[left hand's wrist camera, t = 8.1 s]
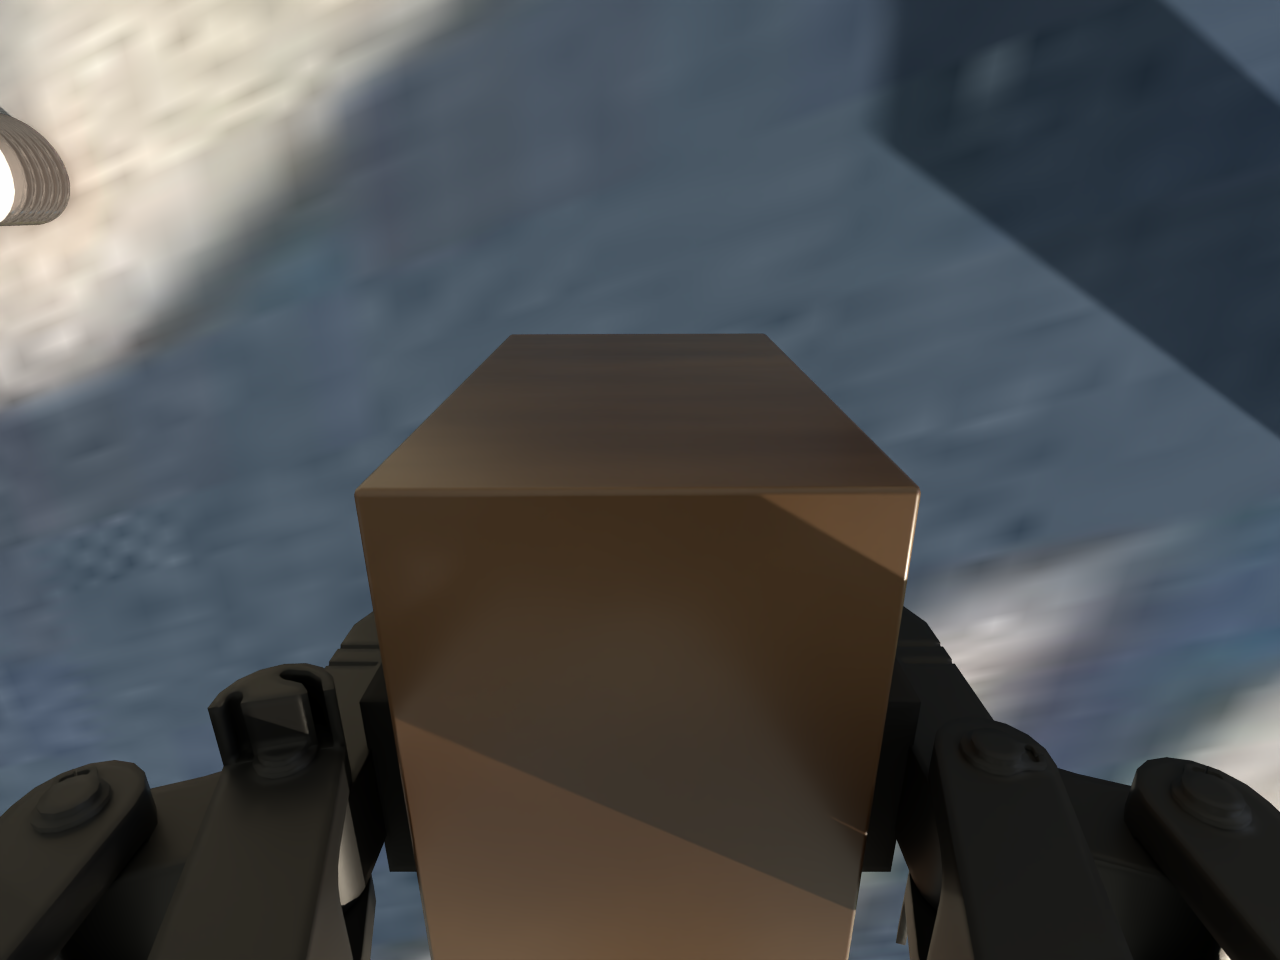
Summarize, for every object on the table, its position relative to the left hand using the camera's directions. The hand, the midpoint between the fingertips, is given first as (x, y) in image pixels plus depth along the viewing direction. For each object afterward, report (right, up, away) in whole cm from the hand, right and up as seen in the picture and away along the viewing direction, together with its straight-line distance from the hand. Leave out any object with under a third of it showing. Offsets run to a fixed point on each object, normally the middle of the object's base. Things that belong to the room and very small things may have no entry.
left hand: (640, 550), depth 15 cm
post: (0, -22, +9) cm, 24 cm away
